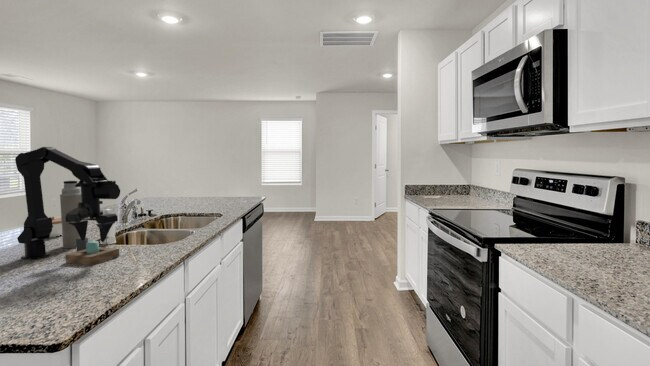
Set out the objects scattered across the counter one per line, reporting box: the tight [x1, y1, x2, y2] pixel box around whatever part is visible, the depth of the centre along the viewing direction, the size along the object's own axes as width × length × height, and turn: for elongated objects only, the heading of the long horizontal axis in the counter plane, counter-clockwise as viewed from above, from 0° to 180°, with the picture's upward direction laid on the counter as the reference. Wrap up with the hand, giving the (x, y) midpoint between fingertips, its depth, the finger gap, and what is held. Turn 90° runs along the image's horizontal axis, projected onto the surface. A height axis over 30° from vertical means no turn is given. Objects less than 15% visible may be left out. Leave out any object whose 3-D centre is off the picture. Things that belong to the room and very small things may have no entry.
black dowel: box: [75, 236, 89, 252], centre depth 150 cm, size 4×4×6 cm
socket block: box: [65, 246, 120, 266], centre depth 141 cm, size 12×12×3 cm
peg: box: [86, 240, 100, 254], centre depth 141 cm, size 4×4×6 cm
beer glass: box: [97, 207, 117, 245], centre depth 168 cm, size 7×7×15 cm
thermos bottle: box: [59, 180, 81, 249], centre depth 162 cm, size 8×8×28 cm
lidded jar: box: [49, 216, 62, 238], centre depth 183 cm, size 11×11×9 cm
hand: (92, 240), depth 141 cm, fingers open, 9 cm apart
